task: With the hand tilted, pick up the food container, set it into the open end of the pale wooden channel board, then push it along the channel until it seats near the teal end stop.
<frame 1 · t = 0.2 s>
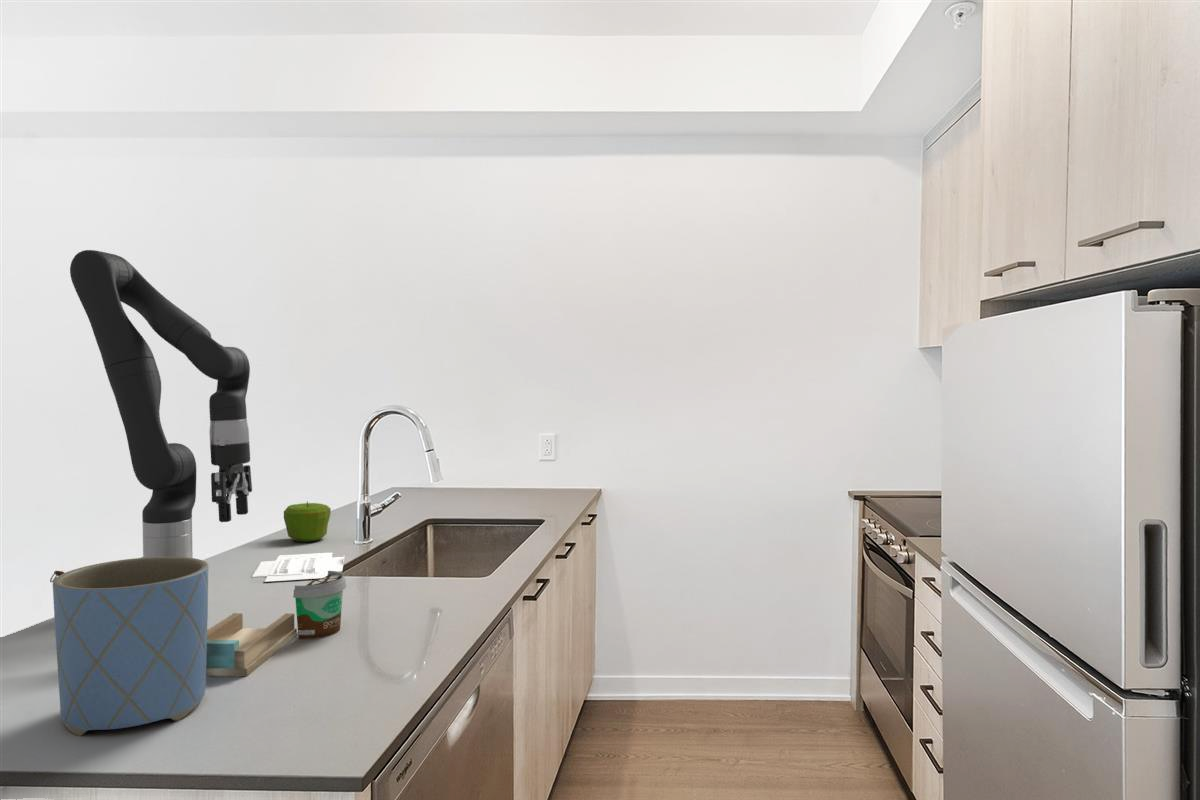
hand: (234, 517, 168), 18 cm above the worktop, tool pointing down, fingers open, 8 cm apart
food container: (327, 632, 149), on the worktop
planter: (136, 711, 114), on the worktop
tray: (300, 570, 199), on the worktop
channel board: (239, 653, 137), on the worktop
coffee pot: (123, 654, 137), on the worktop
apple: (307, 541, 231), on the worktop
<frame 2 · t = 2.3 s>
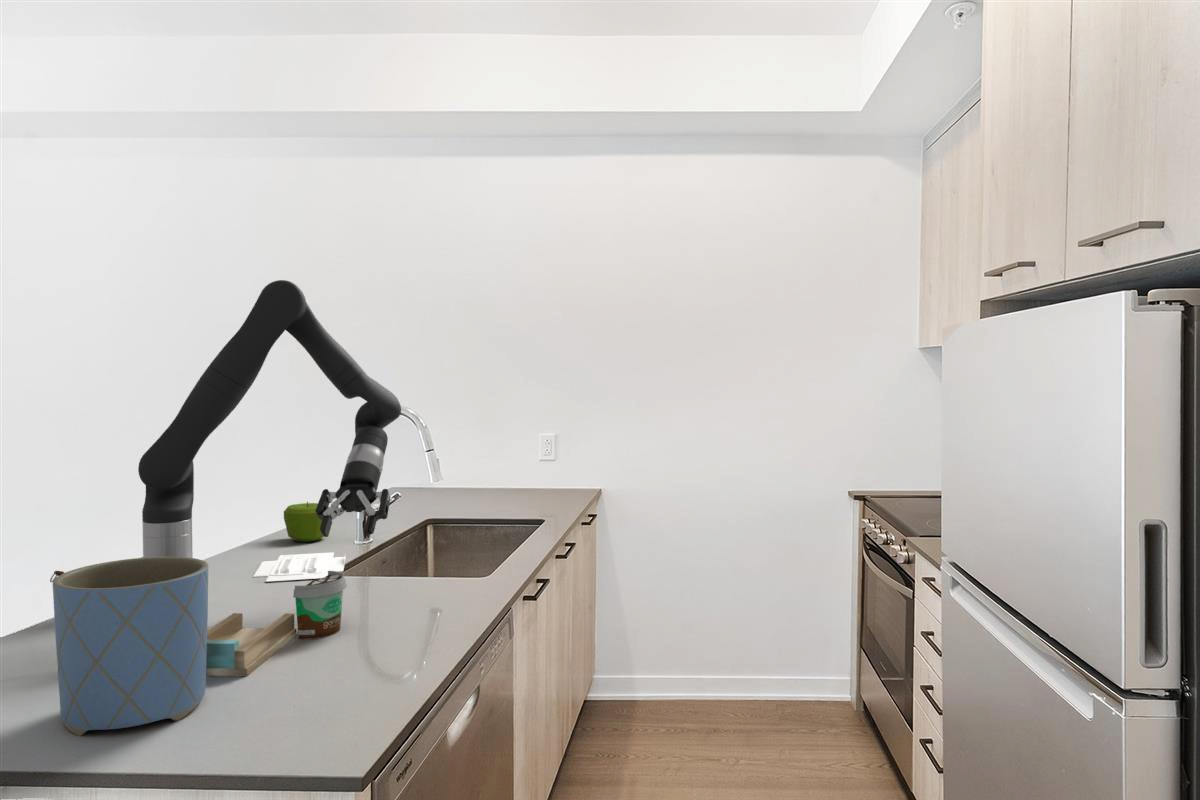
hand: (345, 534, 159), 16 cm above the worktop, tool tilted 45°, fingers open, 8 cm apart
nothing on the worktop moved.
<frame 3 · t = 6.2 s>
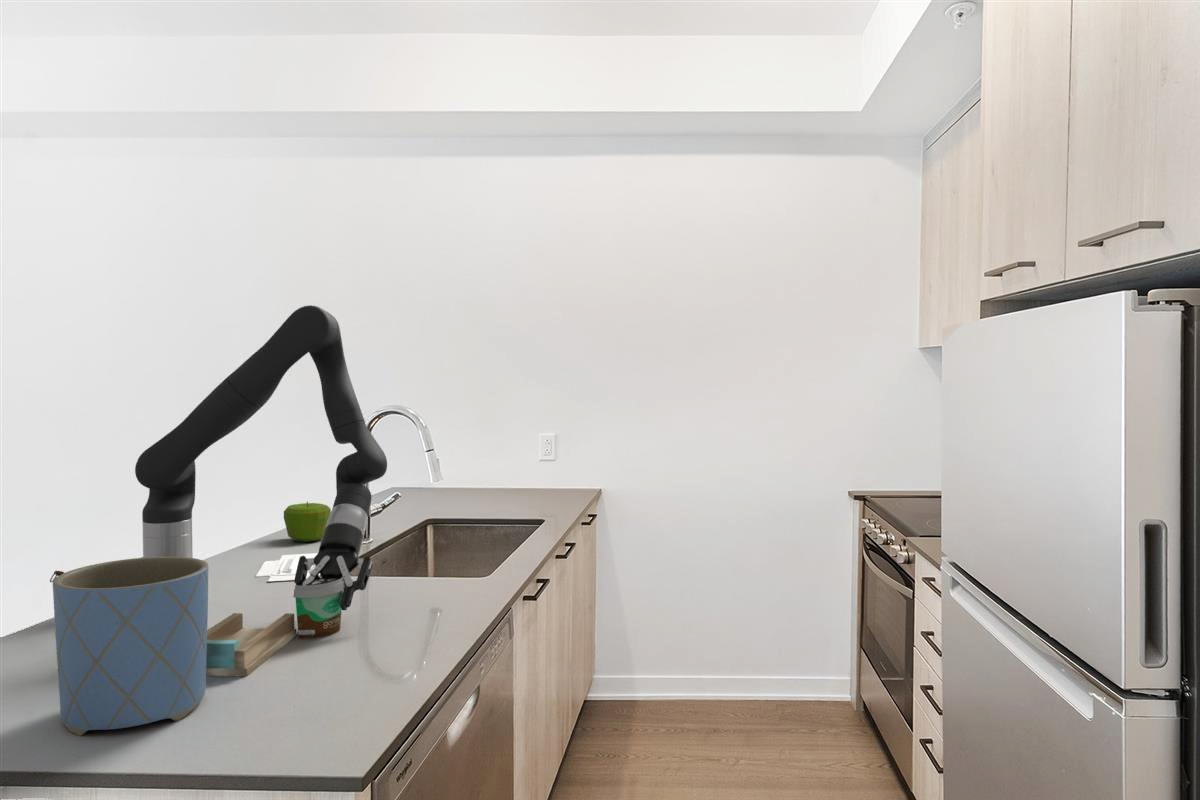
hand: (323, 607, 147), 5 cm above the worktop, tool tilted 45°, fingers closed on food container, 6 cm apart
food container: (327, 632, 149), on the worktop, touching gripper
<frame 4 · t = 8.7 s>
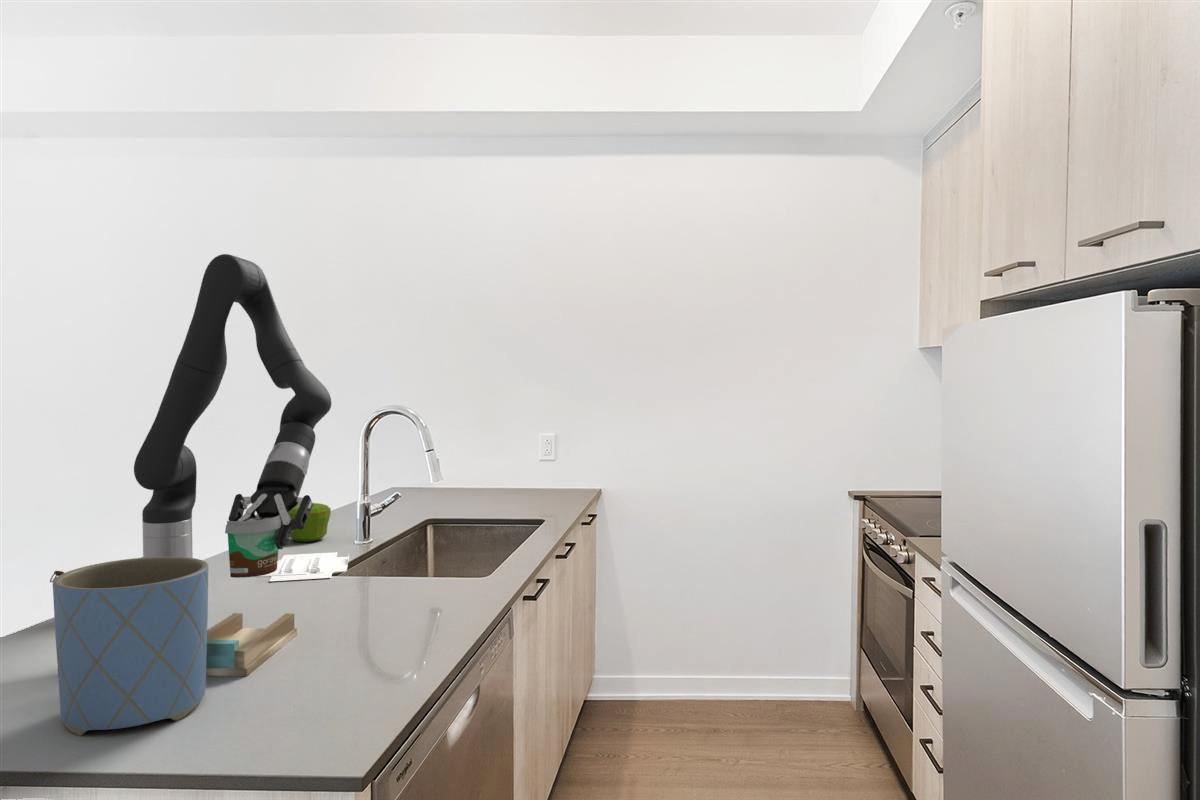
hand: (258, 546, 140), 18 cm above the worktop, tool tilted 45°, fingers closed on food container, 6 cm apart
food container: (262, 572, 142), point 13 cm above the worktop, touching gripper
when the fingers open (7 cm above the worktop, at t = 11.7 s): food container stays where it is, resting on channel board.
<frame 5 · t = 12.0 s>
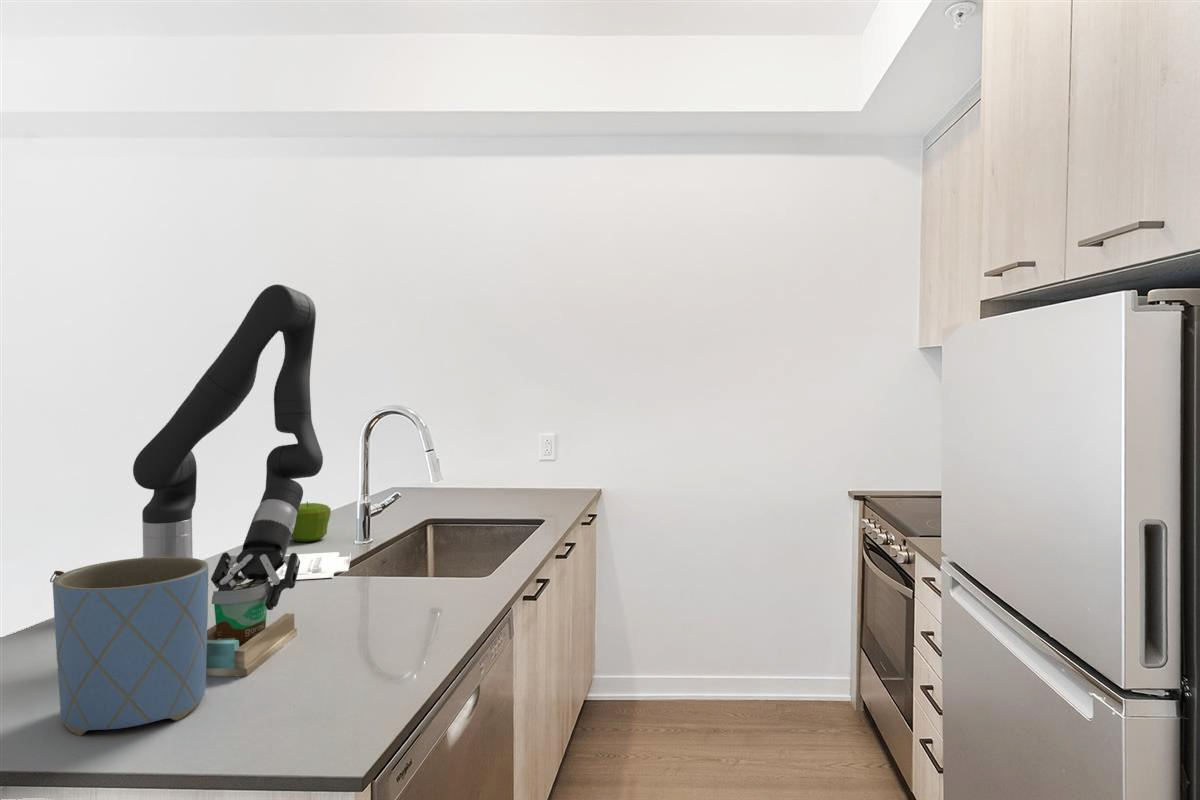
hand: (244, 607, 139), 7 cm above the worktop, tool tilted 45°, fingers open, 8 cm apart
food container: (250, 640, 140), point 1 cm above the worktop, touching channel board
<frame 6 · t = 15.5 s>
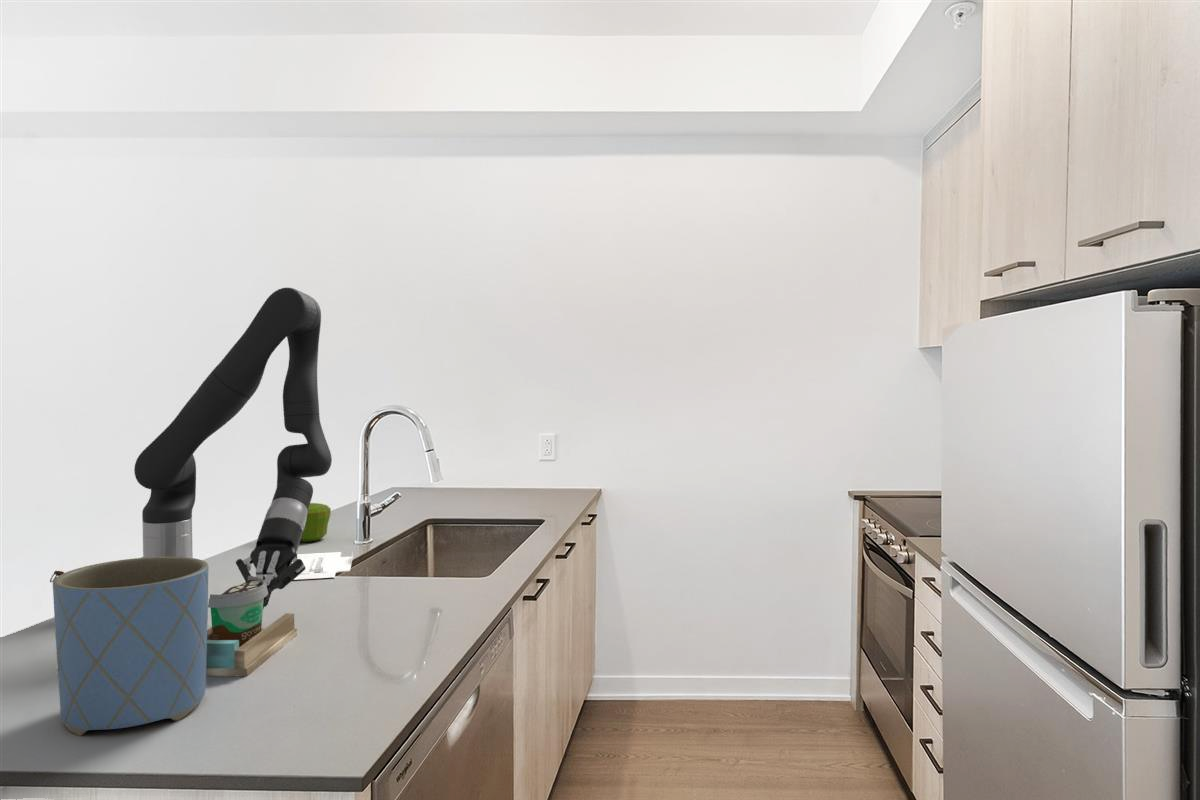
hand: (257, 607, 143), 6 cm above the worktop, tool tilted 45°, fingers closed
food container: (246, 643, 139), point 1 cm above the worktop, touching gripper
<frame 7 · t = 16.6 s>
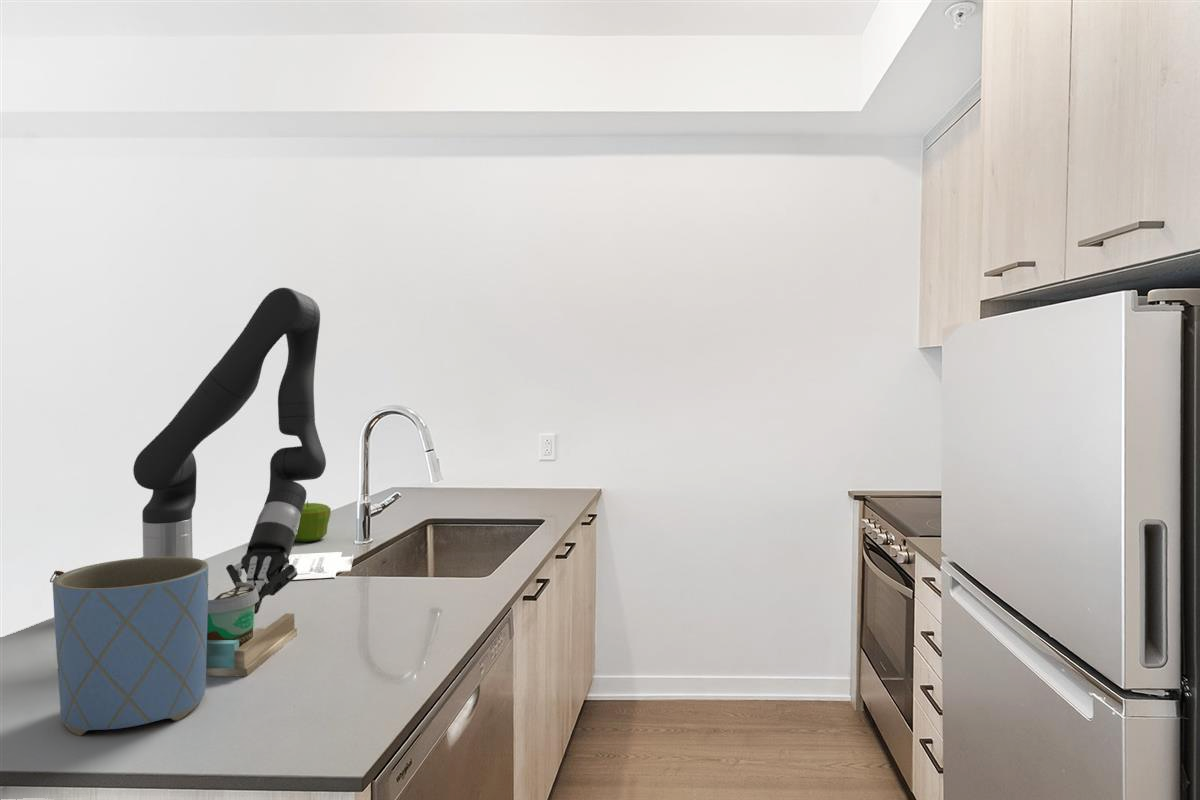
hand: (247, 614, 140), 6 cm above the worktop, tool tilted 45°, fingers closed
food container: (238, 650, 135), point 1 cm above the worktop, touching channel board, gripper
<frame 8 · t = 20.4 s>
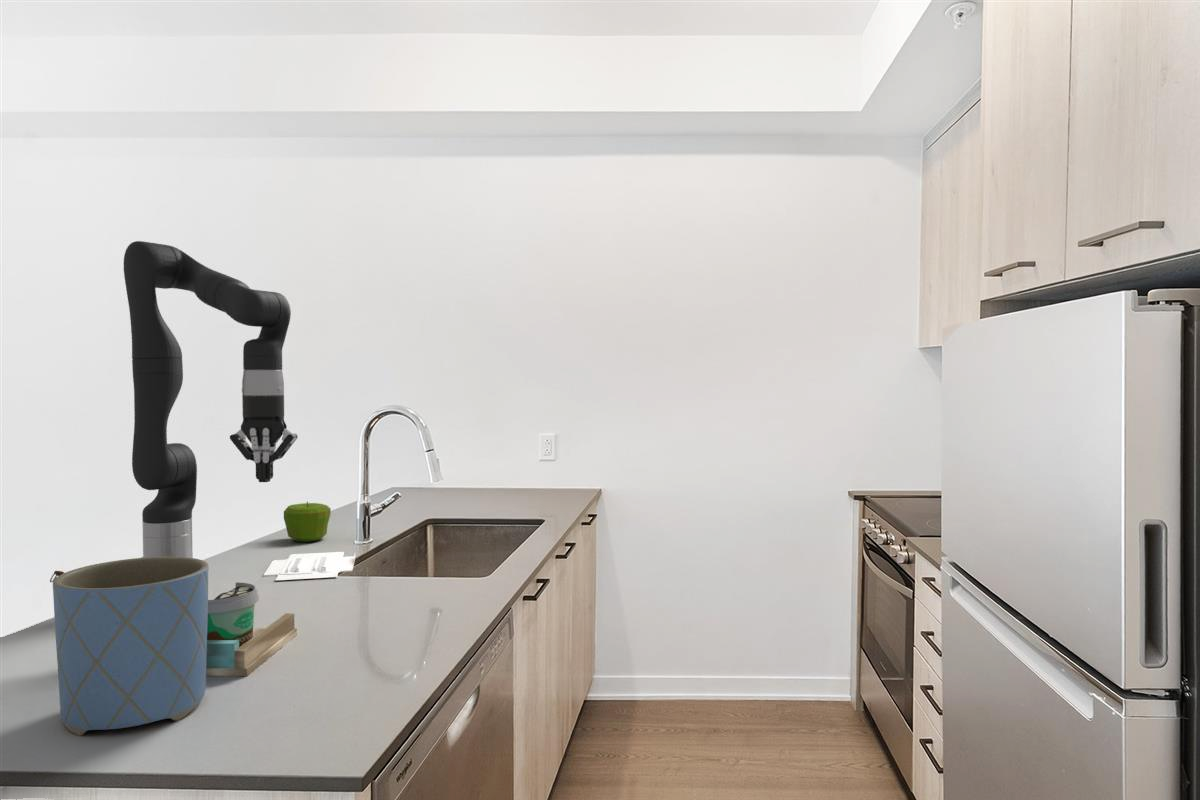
hand: (264, 481, 156), 27 cm above the worktop, tool pointing down, fingers closed
food container: (238, 650, 135), point 1 cm above the worktop, touching channel board
at the end: food container 1.1 cm from the target spot on the channel board, point 1.0 cm above the channel board's base; food container tilted 0°; the gripper is holding nothing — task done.
